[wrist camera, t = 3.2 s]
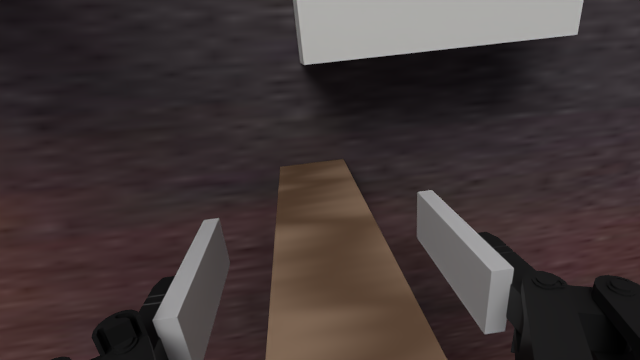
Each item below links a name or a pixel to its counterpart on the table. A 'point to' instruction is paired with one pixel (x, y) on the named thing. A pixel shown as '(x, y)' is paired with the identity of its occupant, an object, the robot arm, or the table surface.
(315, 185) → the bronze peg
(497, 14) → the socket block
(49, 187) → the table surface
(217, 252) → the robot arm
